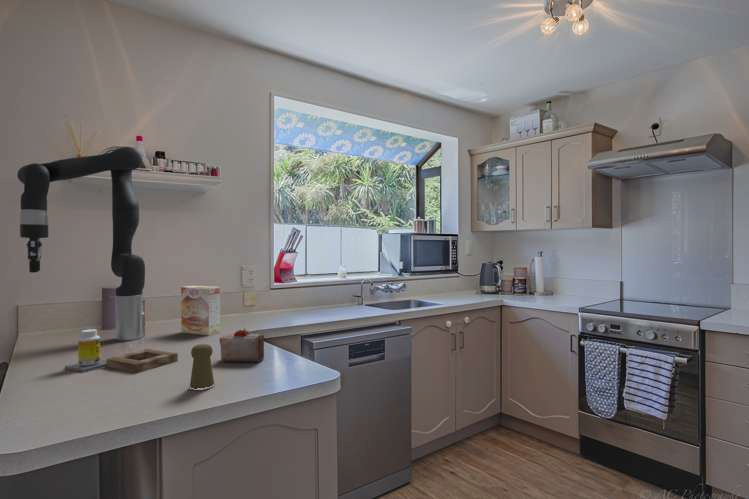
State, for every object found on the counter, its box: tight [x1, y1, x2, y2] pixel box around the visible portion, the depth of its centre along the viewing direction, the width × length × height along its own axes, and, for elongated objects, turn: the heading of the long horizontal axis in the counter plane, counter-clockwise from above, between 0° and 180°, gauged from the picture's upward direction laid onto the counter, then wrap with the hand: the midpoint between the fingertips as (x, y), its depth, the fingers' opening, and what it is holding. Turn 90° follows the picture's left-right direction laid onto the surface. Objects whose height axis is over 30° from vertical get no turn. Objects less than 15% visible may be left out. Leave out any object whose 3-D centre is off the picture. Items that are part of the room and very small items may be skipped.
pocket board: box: [105, 348, 179, 373], centre depth 134 cm, size 14×14×2 cm
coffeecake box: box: [180, 285, 221, 336], centre depth 181 cm, size 15×7×20 cm, turn 68°
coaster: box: [64, 359, 107, 373], centre depth 131 cm, size 9×9×1 cm
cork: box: [189, 343, 215, 389], centre depth 112 cm, size 6×6×11 cm
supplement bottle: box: [77, 328, 101, 366], centre depth 131 cm, size 6×6×10 cm
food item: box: [219, 328, 265, 363], centre depth 138 cm, size 14×8×10 cm, turn 87°
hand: (34, 271), depth 145 cm, fingers open, 8 cm apart
